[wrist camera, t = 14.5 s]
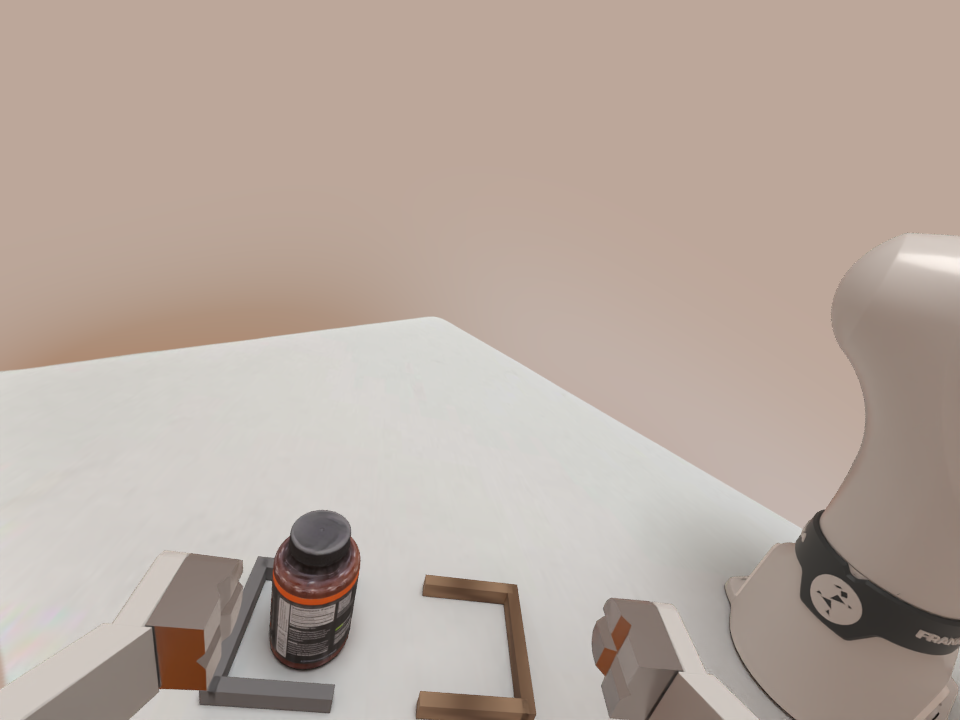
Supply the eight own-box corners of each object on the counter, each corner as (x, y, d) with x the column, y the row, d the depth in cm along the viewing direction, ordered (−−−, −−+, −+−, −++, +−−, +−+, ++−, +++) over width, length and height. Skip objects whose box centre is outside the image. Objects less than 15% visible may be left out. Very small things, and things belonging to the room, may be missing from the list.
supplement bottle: (286, 595, 41) (295, 491, 36) (357, 608, 41) (374, 506, 36) (254, 666, 35) (259, 554, 31) (336, 680, 36) (354, 572, 31)
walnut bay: (512, 595, 46) (516, 584, 45) (530, 726, 36) (536, 714, 35) (423, 586, 44) (426, 574, 44) (416, 718, 35) (419, 706, 34)
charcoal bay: (356, 579, 44) (358, 567, 43) (329, 712, 34) (331, 700, 33) (257, 568, 42) (258, 556, 42) (199, 704, 32) (199, 690, 32)
